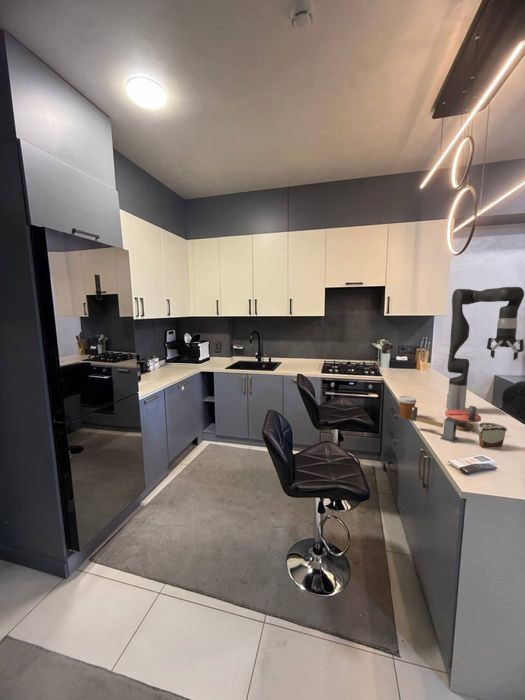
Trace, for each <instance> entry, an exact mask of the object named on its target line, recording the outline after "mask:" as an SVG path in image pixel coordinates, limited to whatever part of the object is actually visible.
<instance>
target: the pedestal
mask: <svg viewBox="0 0 525 700" xmlns="http://www.w3.org/2000/svg"><path fill="white" fill-rule="evenodd" d="M457 430H458V431H462V432H472V431H473V432H474V430H475V426H474V424H473V423H472V422H466V425H460V424H458V420H457V425H456V431H457Z"/></svg>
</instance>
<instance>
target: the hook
mask: <svg viewBox="0 0 525 700" xmlns="http://www.w3.org/2000/svg"><path fill="white" fill-rule="evenodd" d="M410 420H411V421H412V422H413V421H414V422H419V423H423V424H427V425H431V426H435V427H437V428H438V427H439V428H444V422H439V421H435V420H431V419H426V418H422V417H419V416H418V407H417V406H415V407H412V411H411V419H410Z"/></svg>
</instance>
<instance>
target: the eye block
mask: <svg viewBox="0 0 525 700" xmlns="http://www.w3.org/2000/svg"><path fill="white" fill-rule="evenodd" d="M443 421H444V422H443V432H442V436H440V440H443V441H446V442H449V443H456V441H458V439H459V437H457V435H456V434H457V429H456V425H457V419H453V418H449V417H447V416H446V418H445V419H444V420H443Z"/></svg>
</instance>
